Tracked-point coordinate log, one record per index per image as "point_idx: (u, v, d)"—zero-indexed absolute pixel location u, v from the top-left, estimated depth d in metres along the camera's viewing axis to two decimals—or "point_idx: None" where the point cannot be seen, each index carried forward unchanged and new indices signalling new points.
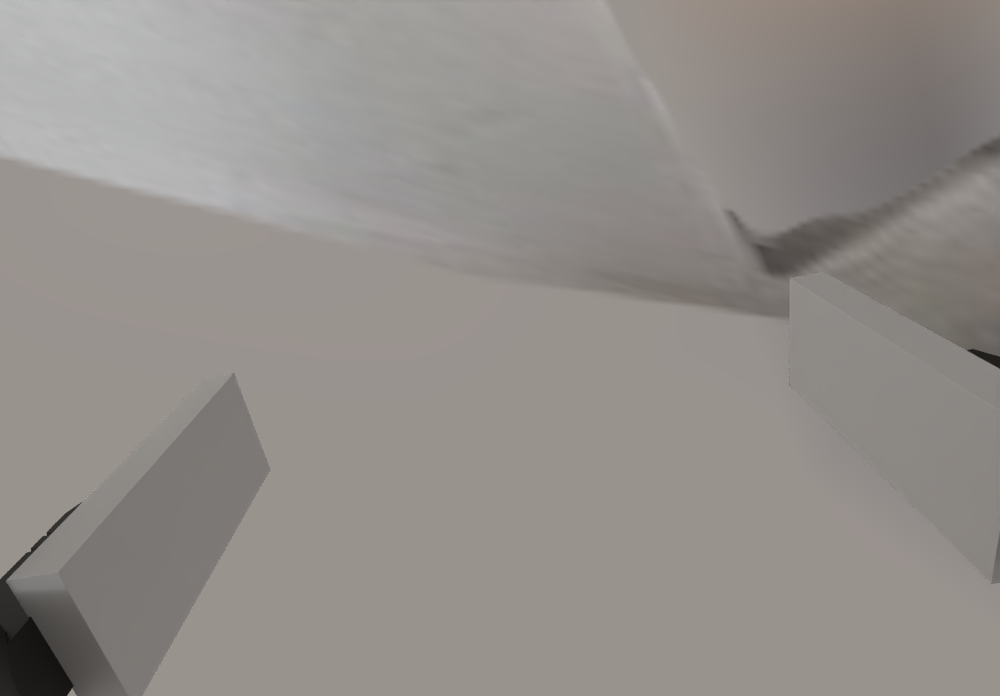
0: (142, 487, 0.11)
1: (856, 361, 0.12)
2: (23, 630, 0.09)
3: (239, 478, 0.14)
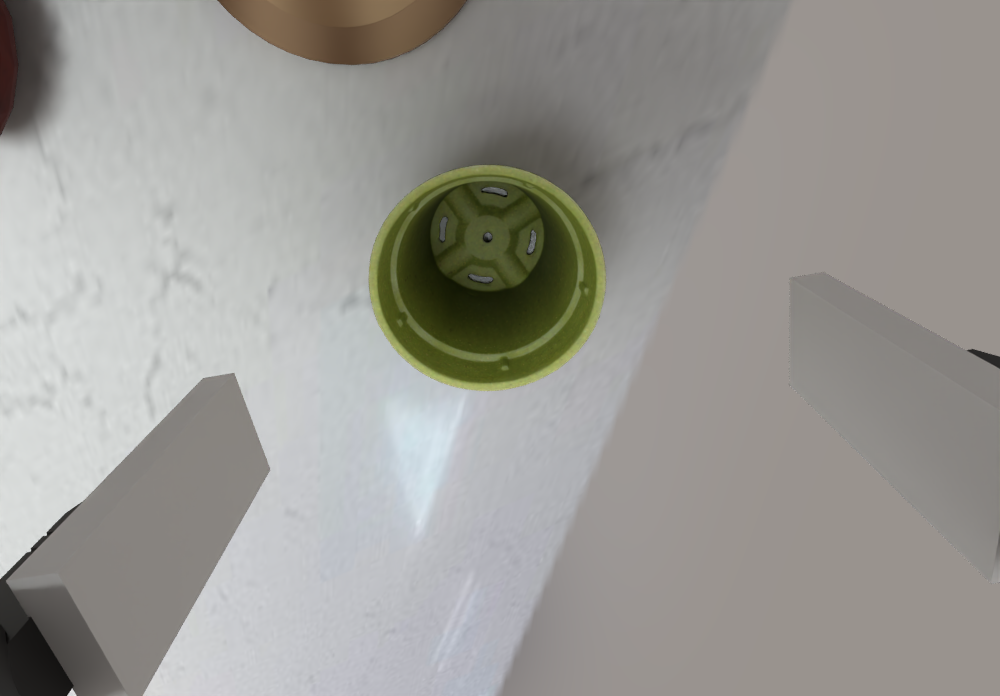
0: (142, 487, 0.11)
1: (856, 360, 0.12)
2: (23, 630, 0.09)
3: (239, 478, 0.14)
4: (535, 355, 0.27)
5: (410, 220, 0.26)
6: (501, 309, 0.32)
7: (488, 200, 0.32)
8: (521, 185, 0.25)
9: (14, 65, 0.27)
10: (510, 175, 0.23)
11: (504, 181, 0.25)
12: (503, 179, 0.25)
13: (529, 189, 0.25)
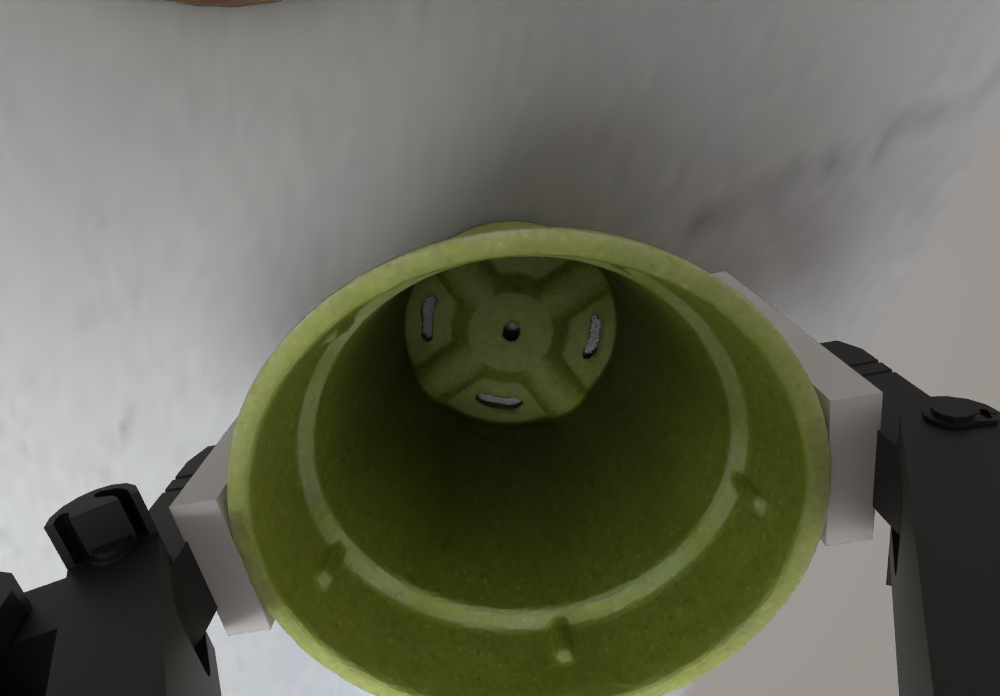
0: None
1: None
2: (182, 553, 0.10)
3: None
4: (631, 624, 0.12)
5: (338, 351, 0.11)
6: (541, 471, 0.17)
7: (512, 264, 0.17)
8: (607, 265, 0.10)
9: None
10: (595, 256, 0.08)
11: (565, 256, 0.10)
12: None
13: (626, 274, 0.10)
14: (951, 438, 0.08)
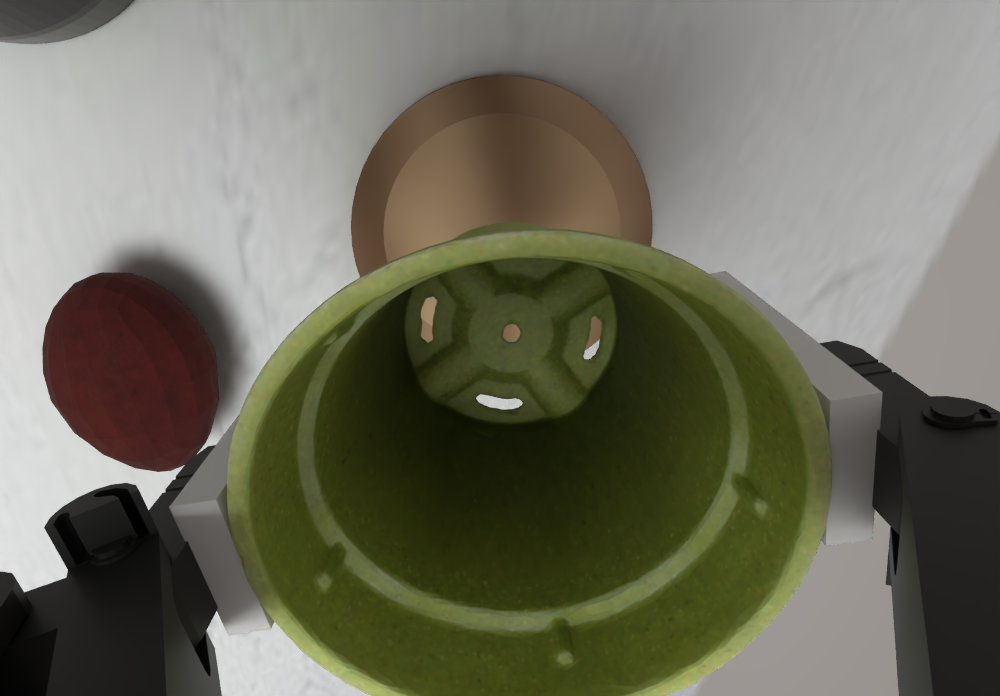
0: None
1: None
2: (183, 552, 0.10)
3: None
4: (631, 626, 0.12)
5: (338, 353, 0.11)
6: (542, 472, 0.17)
7: (512, 265, 0.17)
8: (607, 267, 0.10)
9: (218, 397, 0.30)
10: (595, 258, 0.08)
11: (565, 258, 0.10)
12: None
13: (626, 275, 0.10)
14: (951, 438, 0.08)
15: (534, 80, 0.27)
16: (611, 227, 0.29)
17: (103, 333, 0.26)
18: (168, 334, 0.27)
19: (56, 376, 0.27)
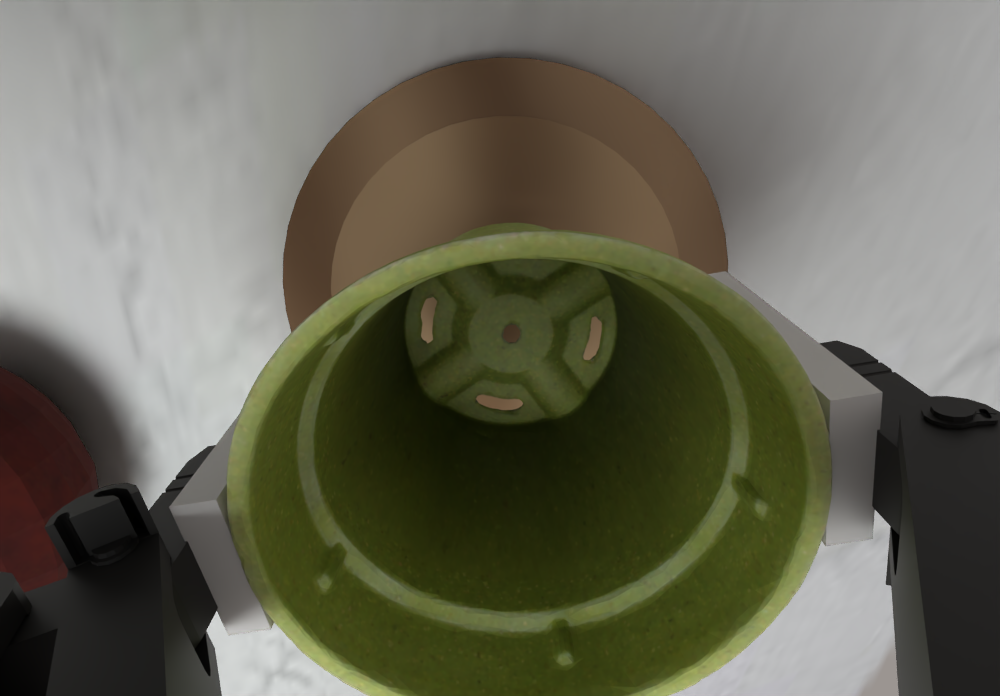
0: None
1: None
2: (182, 552, 0.10)
3: None
4: (632, 626, 0.12)
5: (338, 353, 0.11)
6: (542, 473, 0.17)
7: (512, 266, 0.17)
8: (607, 268, 0.10)
9: None
10: (595, 258, 0.08)
11: (565, 259, 0.10)
12: None
13: (627, 276, 0.10)
14: (951, 438, 0.08)
15: (557, 65, 0.17)
16: None
17: None
18: None
19: None
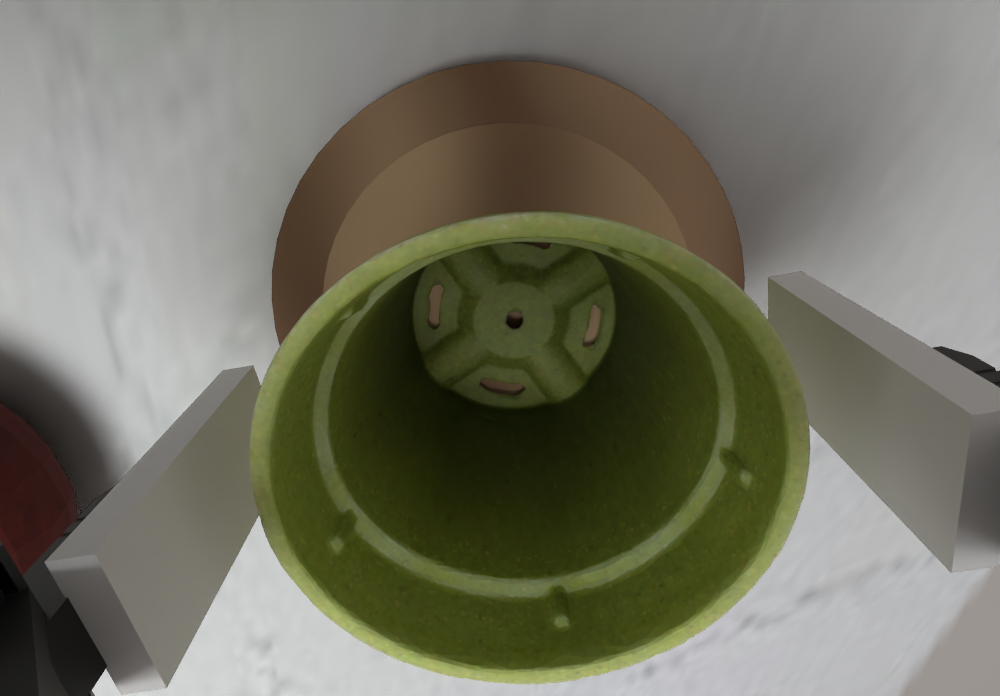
0: (170, 474, 0.11)
1: (828, 358, 0.12)
2: (61, 610, 0.09)
3: None
4: (624, 592, 0.13)
5: (352, 329, 0.12)
6: (542, 453, 0.17)
7: (516, 255, 0.18)
8: (603, 250, 0.11)
9: None
10: (590, 238, 0.09)
11: (564, 242, 0.11)
12: (562, 238, 0.11)
13: (621, 259, 0.11)
14: None
15: (563, 68, 0.16)
16: None
17: None
18: None
19: None
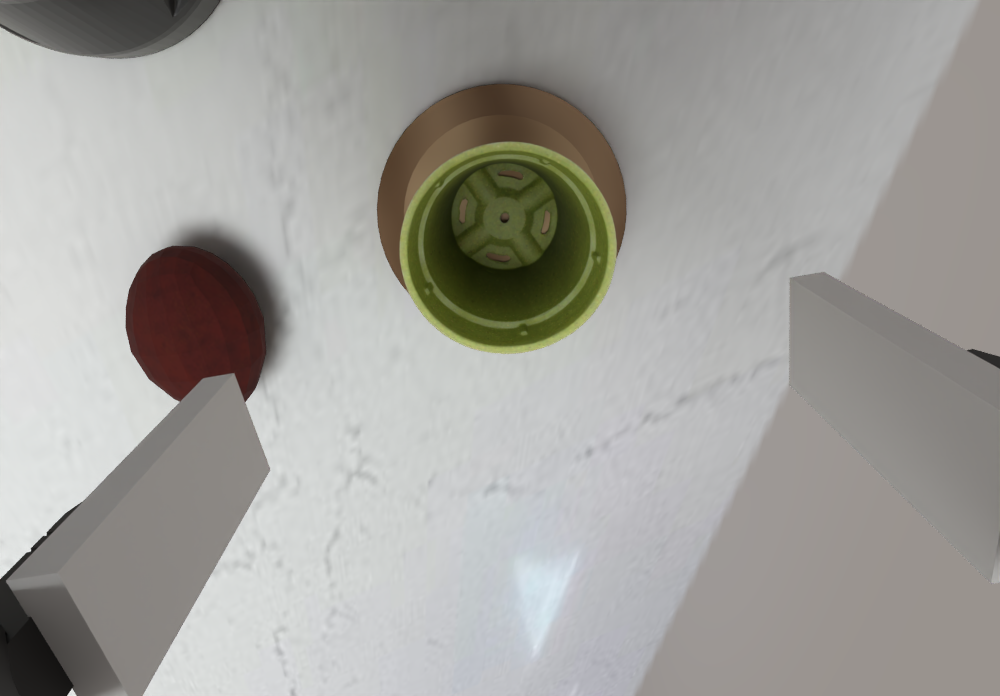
0: (142, 487, 0.11)
1: (855, 360, 0.12)
2: (23, 630, 0.09)
3: (239, 478, 0.14)
4: (552, 320, 0.30)
5: (436, 196, 0.28)
6: (518, 284, 0.34)
7: (505, 183, 0.34)
8: (537, 162, 0.27)
9: (265, 351, 0.37)
10: (528, 151, 0.26)
11: (522, 158, 0.27)
12: (521, 156, 0.27)
13: (545, 166, 0.28)
14: None
15: (528, 87, 0.33)
16: None
17: (178, 293, 0.32)
18: (229, 295, 0.33)
19: (139, 329, 0.33)
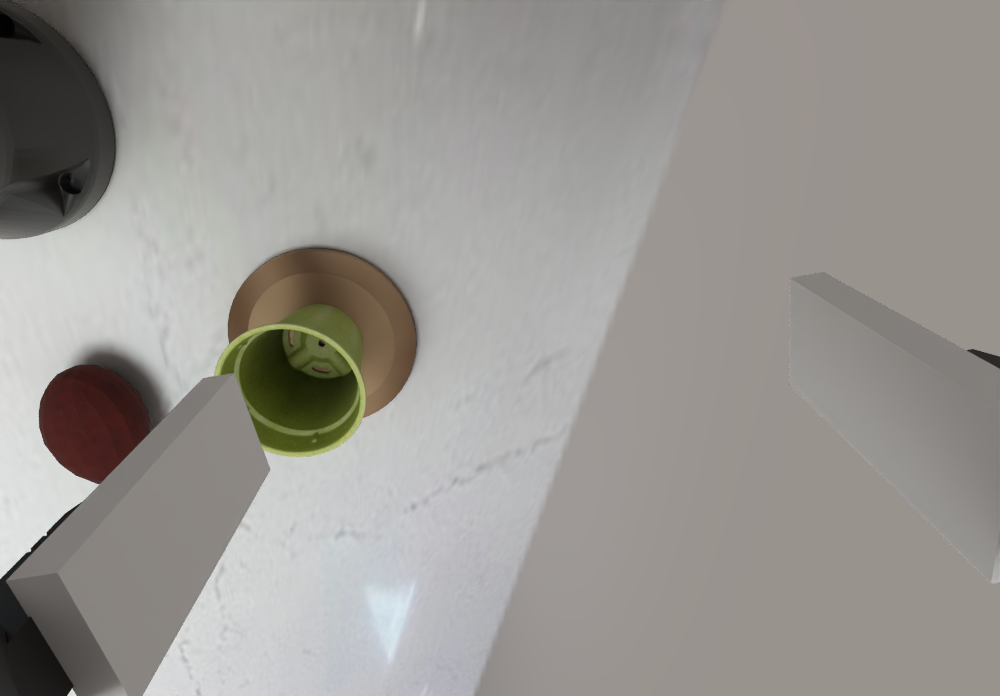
0: (142, 487, 0.11)
1: (855, 360, 0.12)
2: (23, 630, 0.09)
3: (239, 478, 0.14)
4: (334, 431, 0.42)
5: (244, 350, 0.40)
6: (329, 394, 0.46)
7: None
8: None
9: None
10: (294, 329, 0.38)
11: None
12: None
13: None
14: None
15: (330, 254, 0.45)
16: (388, 335, 0.47)
17: (74, 406, 0.44)
18: (114, 404, 0.45)
19: (47, 431, 0.45)
